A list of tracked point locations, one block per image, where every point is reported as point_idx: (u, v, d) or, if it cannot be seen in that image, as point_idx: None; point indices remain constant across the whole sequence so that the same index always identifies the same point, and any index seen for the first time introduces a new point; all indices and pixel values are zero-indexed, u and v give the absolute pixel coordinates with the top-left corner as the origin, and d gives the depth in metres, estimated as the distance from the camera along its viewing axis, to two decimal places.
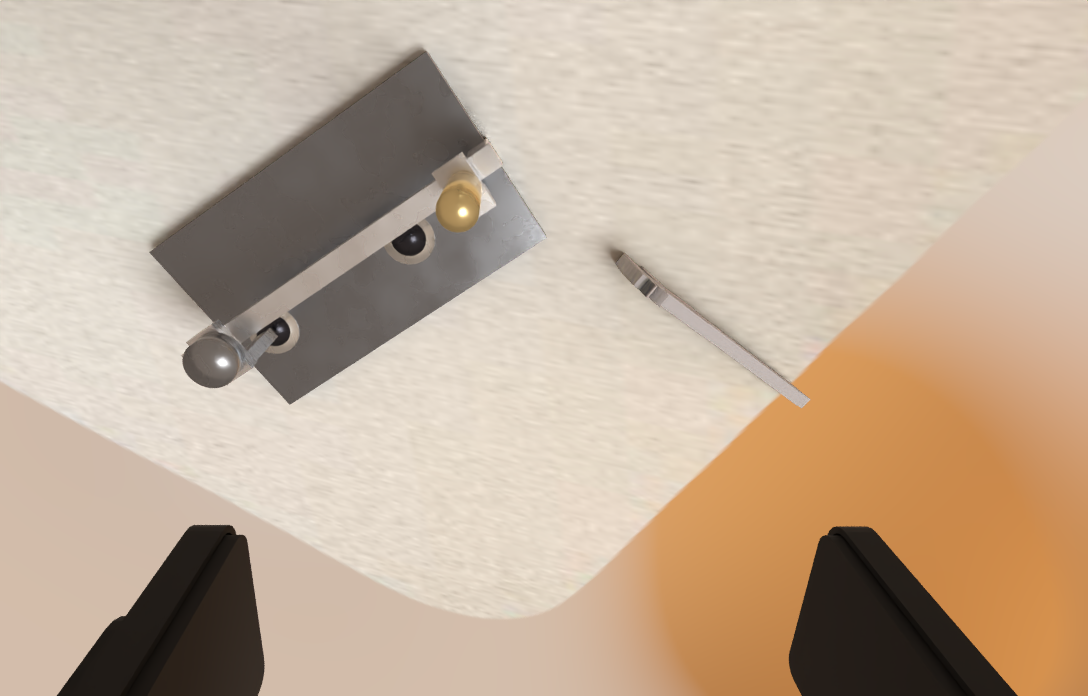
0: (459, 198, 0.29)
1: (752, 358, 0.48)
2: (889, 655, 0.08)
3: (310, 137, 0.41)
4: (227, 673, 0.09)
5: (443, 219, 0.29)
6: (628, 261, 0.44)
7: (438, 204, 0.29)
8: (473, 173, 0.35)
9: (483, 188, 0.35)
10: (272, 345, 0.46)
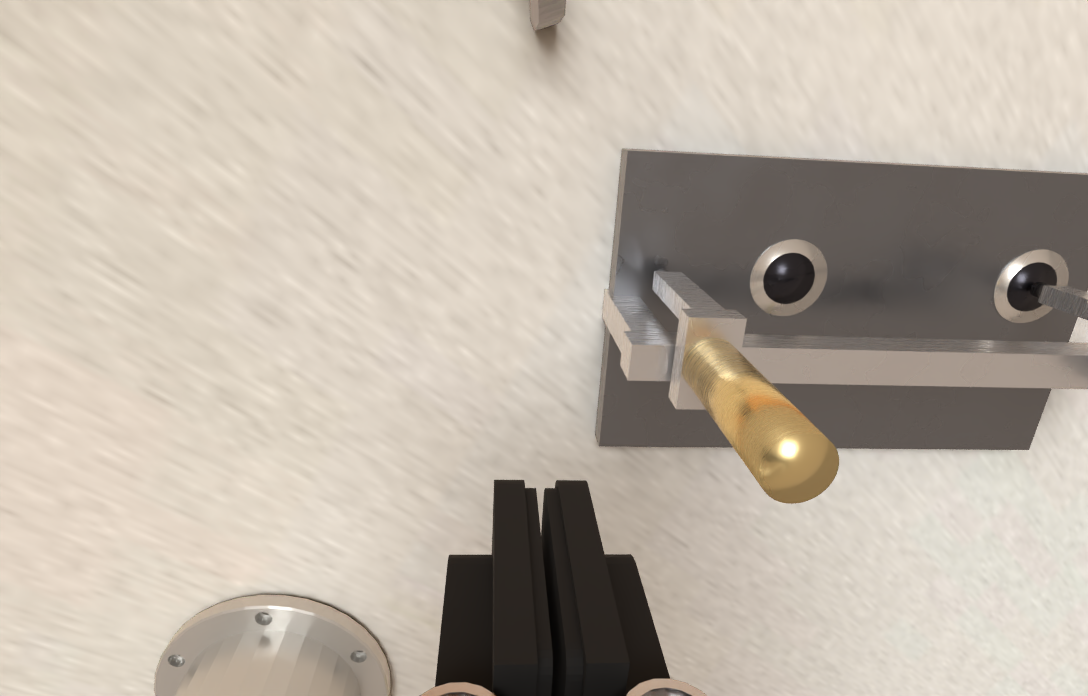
0: (780, 483, 0.16)
1: None
2: (553, 590, 0.09)
3: None
4: None
5: (828, 470, 0.16)
6: (541, 24, 0.23)
7: (815, 494, 0.16)
8: (682, 376, 0.22)
9: (685, 350, 0.22)
10: (1053, 270, 0.30)
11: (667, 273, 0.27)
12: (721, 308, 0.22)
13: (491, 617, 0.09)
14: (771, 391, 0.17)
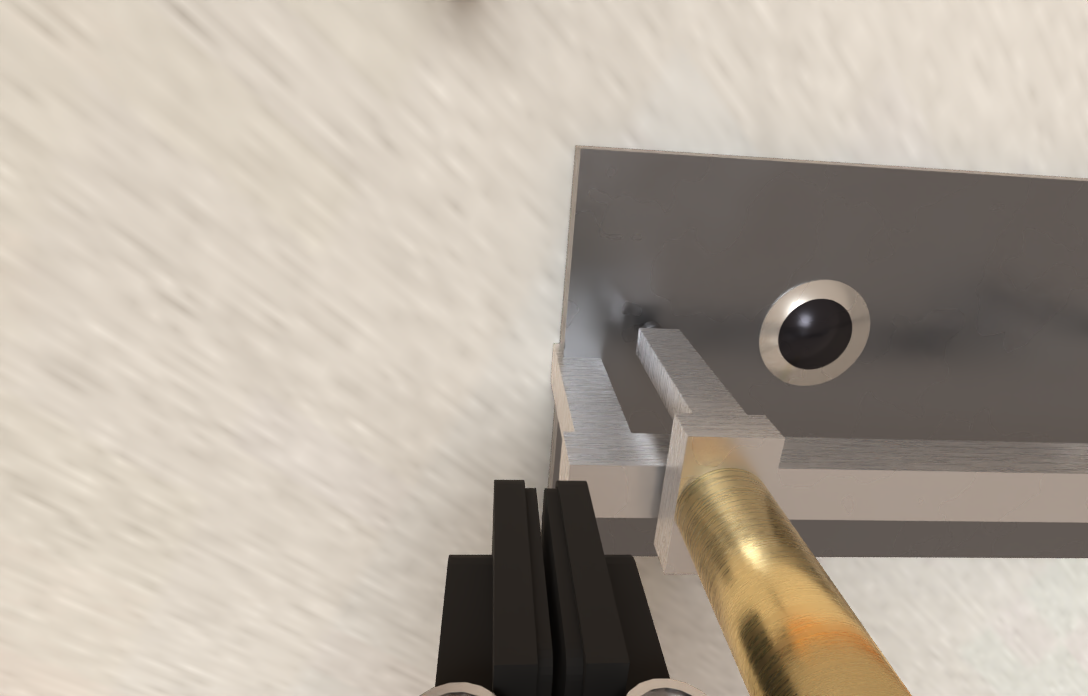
0: None
1: None
2: (553, 589, 0.09)
3: None
4: None
5: None
6: None
7: None
8: (675, 526, 0.13)
9: (681, 486, 0.13)
10: None
11: (658, 332, 0.18)
12: (741, 412, 0.14)
13: (491, 617, 0.09)
14: (846, 634, 0.09)
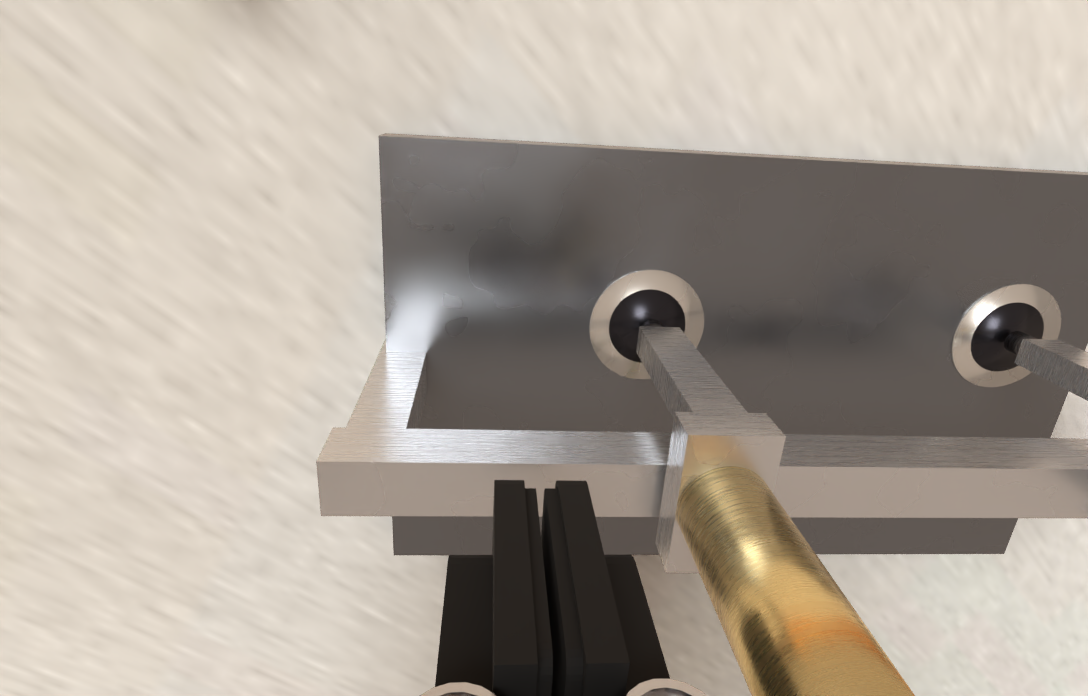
0: None
1: None
2: (553, 590, 0.09)
3: (652, 552, 0.23)
4: None
5: None
6: None
7: None
8: (676, 525, 0.13)
9: (682, 485, 0.13)
10: (1038, 314, 0.20)
11: (658, 331, 0.18)
12: (741, 410, 0.14)
13: (491, 617, 0.09)
14: (847, 633, 0.09)
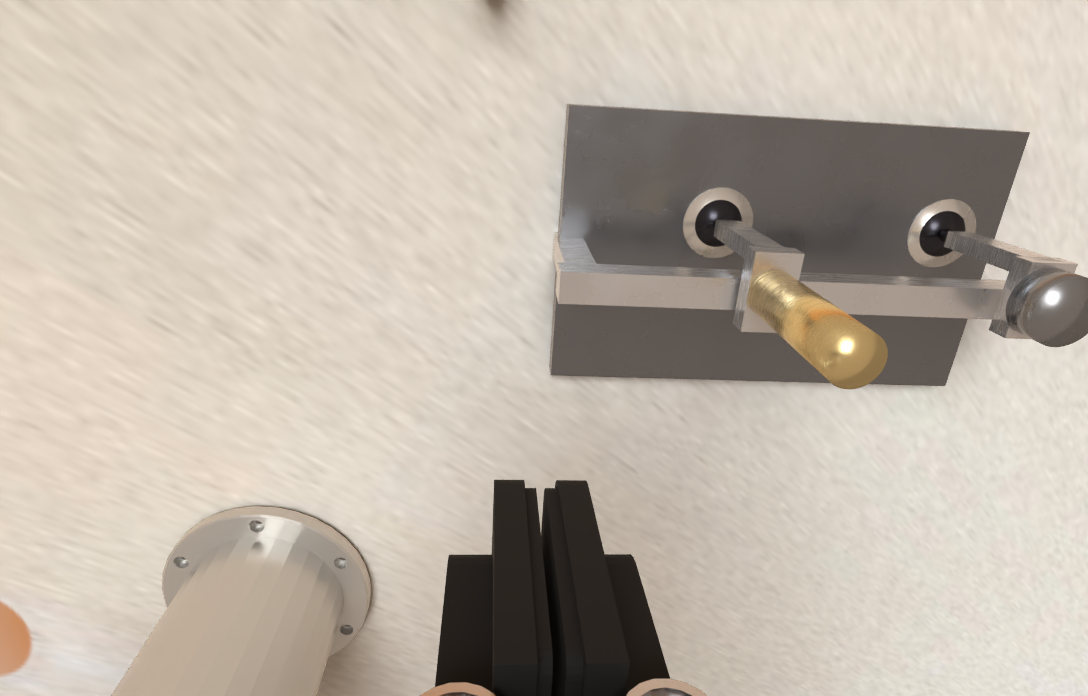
0: (840, 371, 0.20)
1: None
2: (553, 589, 0.09)
3: (714, 377, 0.36)
4: None
5: (879, 361, 0.20)
6: None
7: (867, 381, 0.20)
8: (747, 303, 0.26)
9: (751, 280, 0.26)
10: (961, 218, 0.33)
11: (728, 221, 0.31)
12: (781, 246, 0.26)
13: (491, 617, 0.09)
14: (830, 305, 0.22)
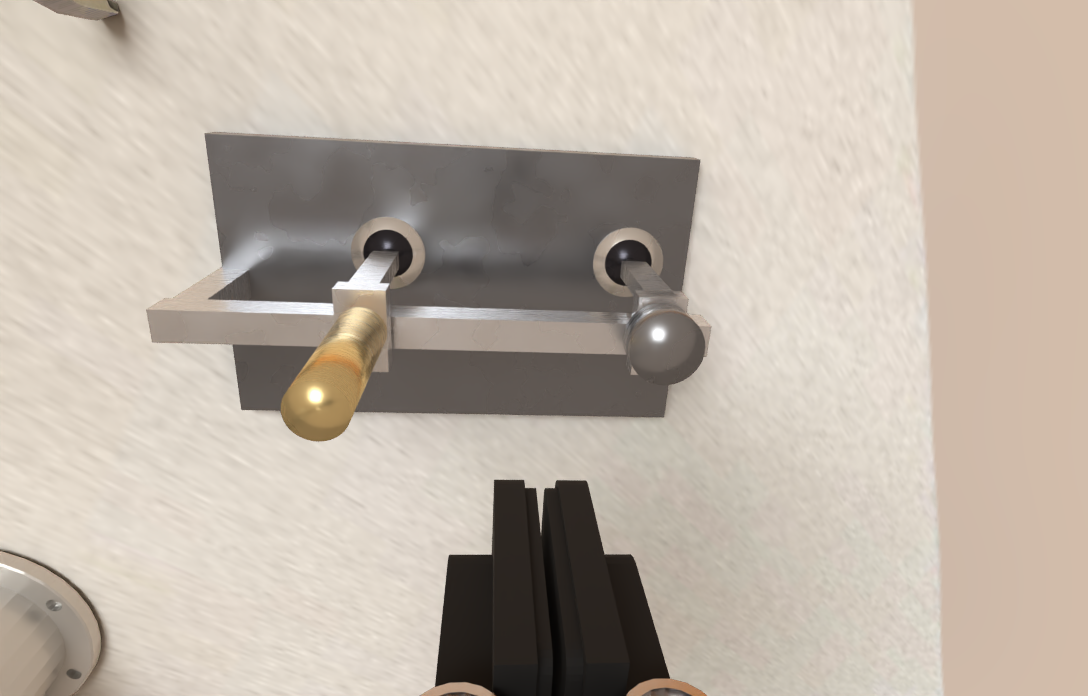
0: (302, 423, 0.19)
1: None
2: (553, 589, 0.09)
3: (417, 411, 0.35)
4: None
5: (342, 412, 0.19)
6: (69, 14, 0.26)
7: (336, 433, 0.19)
8: None
9: (335, 318, 0.24)
10: (645, 247, 0.32)
11: (381, 252, 0.30)
12: (377, 282, 0.25)
13: (491, 617, 0.09)
14: (337, 349, 0.20)
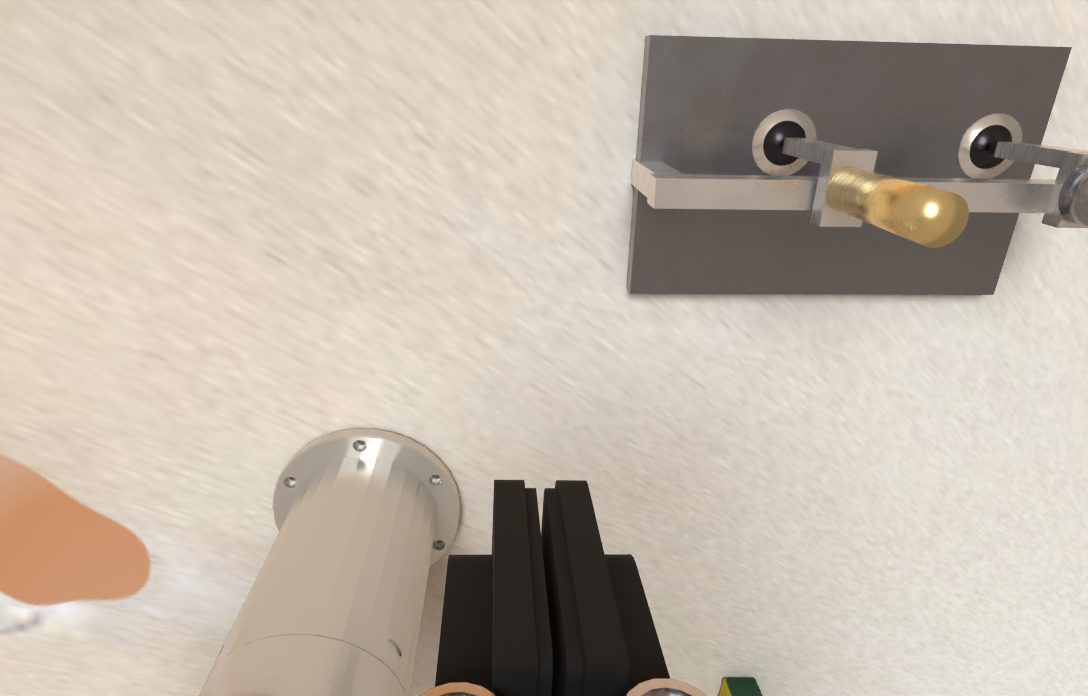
0: (927, 231, 0.23)
1: None
2: (553, 589, 0.09)
3: (779, 292, 0.39)
4: None
5: (961, 221, 0.23)
6: None
7: (950, 240, 0.23)
8: (826, 199, 0.29)
9: (830, 177, 0.29)
10: (1008, 131, 0.36)
11: (796, 138, 0.34)
12: (854, 148, 0.29)
13: (491, 617, 0.09)
14: (912, 182, 0.25)
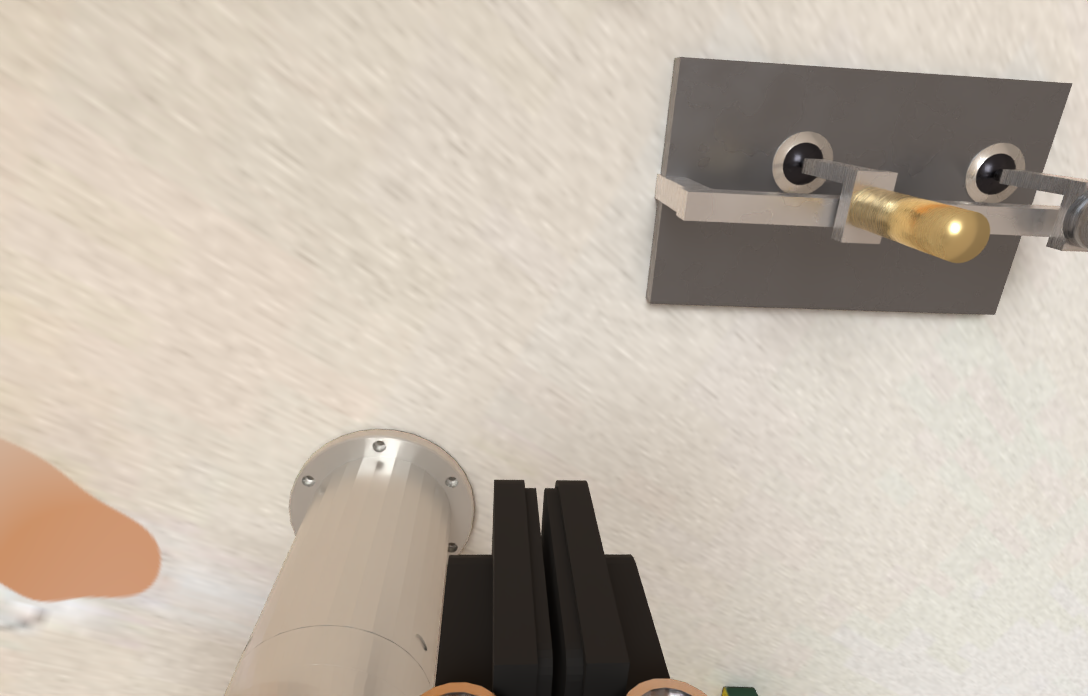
0: (951, 247, 0.24)
1: None
2: (553, 589, 0.09)
3: (792, 306, 0.40)
4: None
5: (982, 239, 0.24)
6: None
7: (972, 256, 0.25)
8: (848, 216, 0.31)
9: (852, 196, 0.30)
10: (1012, 160, 0.38)
11: (815, 159, 0.35)
12: None
13: (491, 617, 0.09)
14: None
